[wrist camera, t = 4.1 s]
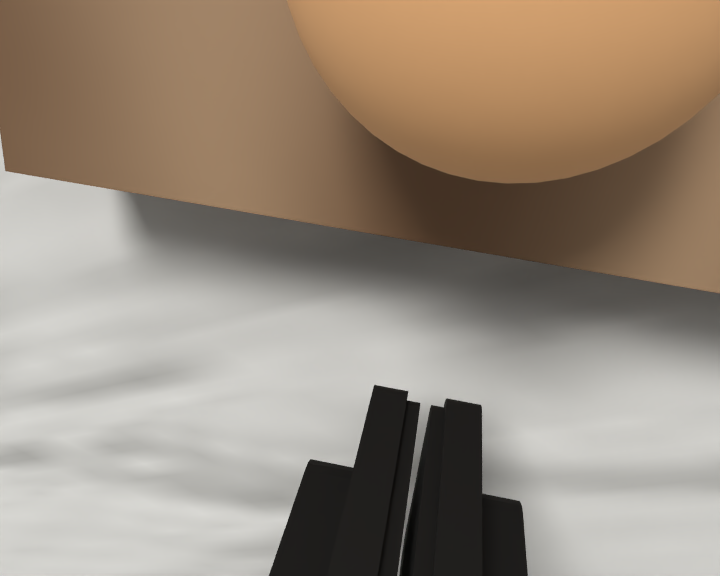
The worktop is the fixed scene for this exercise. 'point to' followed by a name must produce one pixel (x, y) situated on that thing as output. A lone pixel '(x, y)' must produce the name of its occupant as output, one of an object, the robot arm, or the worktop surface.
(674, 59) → the ball
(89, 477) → the worktop surface
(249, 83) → the board
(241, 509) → the worktop surface
